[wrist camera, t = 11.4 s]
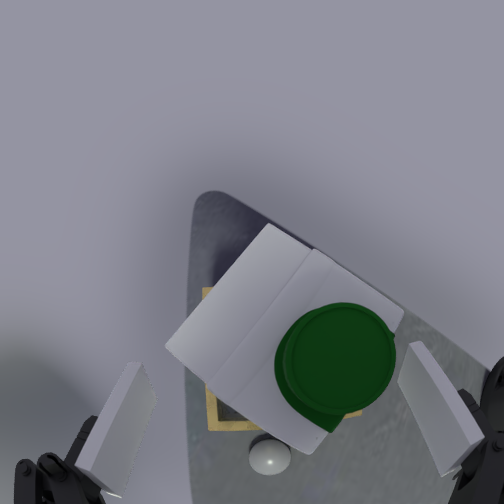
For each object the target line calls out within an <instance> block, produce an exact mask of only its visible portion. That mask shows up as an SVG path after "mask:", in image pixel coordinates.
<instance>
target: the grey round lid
mask: <svg viewBox="0 0 504 504" xmlns="http://www.w3.org/2000/svg"><path fill="white" fill-rule="evenodd" d="M290 460H291V455H290V451H289V449H288V447H287V446H286V445H285V444H284V443H283V442H281V441H279V440H275V439H266V440H262V441H260V442H258V443H256V444H255V445H254V446H253V447H252V449H251V451H250V454H249V462H250V465H251V466H252V468H253V469H254V470H255V471H257V472H259V473H261V474H264V475H274V474H278V473H280V472H282V471H284V470H285V469H286V468H287V467H288V465H289V463H290Z"/></svg>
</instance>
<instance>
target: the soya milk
mask: <svg viewBox="0 0 504 504" xmlns="http://www.w3.org/2000/svg"><path fill="white" fill-rule="evenodd" d="M403 315H404V310H402V309H401V308H400V307H398V306H397V305H396V304H394V303H393V302H391V301H390V300H389V299H387V298H386V297H384V296H383V295H381V294H380V293H379V292H377V291H376V290H374V289H373V288H371V287H370V286H369V285H367V284H366V283H364V282H363V281H361V280H360V279H358V278H357V277H356V276H354V275H353V274H351V273H350V272H348V271H347V270H345V269H344V268H342V267H341V266H339V265H338V264H336V263H335V262H334V261H333V260H332V259H331V258H329V257H328V256H326V255H325V254H323V253H321V252H320V251H318V250H316V249H313V250H311V249H310V248H308V247H306V246H305V245H303V244H302V243H300V242H299V241H297V240H295V239H294V238H292V237H291V236H289V235H288V234H286V233H284V232H283V231H281V230H280V229H278V228H276V227H275V226H273V225H271V224H270V223H268V224H267V225H266V226H265V227H264V228H263V229H262V231H261V232H260V233H259V234H258V235H257V236H256V238H255V239H254V240H253V241H252V242H251V243H250V245H249V246H248V247H247V248H246V249H245V251H244V252H243V253H242V254H241V255H240V256H239V258H238V259H237V260H236V261H235V262H234V264H233V265H232V266H231V267H230V268H229V269H228V271H227V272H226V273H225V274H224V275H223V276H222V278H221V279H220V280H219V281H218V282H217V284H216V285H215V286H214V287H213V288H212V290H211V291H210V292H209V293H208V294H207V295H206V297H205V298H204V299H203V300H202V301H201V303H200V304H199V305H198V306H197V307H196V309H195V310H194V311H193V312H192V313H191V314H190V316H189V317H188V318H187V319H186V320H185V322H184V323H183V324H182V325H181V327H180V328H179V329H178V330H177V331H176V332H175V334H174V335H173V336H172V337H171V338H170V340H169V341H168V342H167V343H166V344H165V347H166V348H167V349H168V350H169V351H170V352H171V353H172V354H173V355H174V356H175V357H176V358H177V359H178V360H179V361H181V362H182V363H183V364H184V365H185V366H186V367H187V368H188V369H190V370H191V371H192V372H193V373H194V374H195V375H197V376H198V377H199V378H200V379H201V380H202V381H204V382H205V383H206V384H207V389H208V390H209V391H210V392H211V393H212V394H214V395H215V396H216V397H217V398H219V399H220V400H221V401H223V402H224V403H225V404H227V405H229V406H230V407H232V408H233V409H234V410H236V411H237V412H239V413H240V414H241V415H243V416H244V417H246V418H247V419H248V420H250V421H251V422H253V423H254V424H256V425H257V426H259V427H260V428H262V429H263V430H265V431H266V432H268V433H269V434H271V435H272V436H274V437H276V438H278V439H279V440H281V441H283V442H285V443H286V444H288V445H290V446H292V447H294V448H295V449H297V450H299V451H301V452H303V453H305V454H312V453H313V451H314V450H315V449H316V448H317V447H318V446H319V444H320V443H321V442H322V440H323V439H324V438H325V437H326V435H327V434H328V433H332V432H333V431H334V430H335V428H336V427H337V426H338V424H339V423H340V422H341V420H342V419H343V418H344V416H345V415H346V414H349V413H353V412H356V411H359V410H362V409H363V408H365V407H367V406H368V405H370V404H371V403H373V402H374V401H375V400H376V399H377V398H378V397H379V396H380V395H381V394H382V393H383V392H384V390H385V389H386V387H387V386H388V384H389V382H390V380H391V378H392V375H393V372H394V368H395V362H396V349H395V343H394V340H393V339H394V337H395V334H394V332H395V330H396V329H397V327H398V325H399V323H400V321H401V319H402V317H403Z"/></svg>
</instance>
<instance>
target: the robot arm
mask: <svg viewBox="0 0 504 504" xmlns="http://www.w3.org/2000/svg"><path fill="white" fill-rule="evenodd" d="M397 383H398V385H399V387H400V389H401V391H402V393H403V395H404V397H405V399H406V401H407V403H408V405H409V407H410V409H411V411H412V413H413V415H414V417H415V419H416V421H417V424H418V426H419V428H420V430H421V432H422V434H423V437H424V439H425V441H426V443H427V446H428V448H429V450H430V453H431V455H432V457H433V460H434V462H435V464H436V467H437V469H438V472H439V474H440V477H442V476H444V475H446V474H448V473H450V472H452V471H454V470H455V469H456V468H457V467H458V466H459V465H460V464H461V466H462V469H461V470H460V471H459V472H458V473H457V474H456V475H455V476H454V477H453V479H452V480H455V479H456V478H457V477H458V479H457V482H456V485H455V487H454V490H453V493H452V495H451V498H450V500H449V503H448V504H504V357H502V358H501V359H500V360H499V361H498V362H497V363H496V365H495V366H494V368H493V369H492V371H491V373H490V375H489V377H488V379H487V382H486V384H485V387H484V391H483V395H482V400H481V407H479V406H478V404H476V401H475V400H474V398H473V397H472V395H471V394H470V393H468V392H467V391H466V390H464V389H461V390H459V391H456V389H455V388H454V386H453V385H452V383H451V382H450V380H449V379H448V378H447V376H446V375H445V373H444V372H443V370H442V369H441V367H440V366H439V365H438V363H437V362H436V360H435V359H434V358H433V356H432V355H431V353H430V352H429V351H428V349H427V348H426V347H425V345H424V344H423V343H422V341H417V342H413V343H409V344H408V348H407V351H406V355H405V358H404V362H403V365H402V368H401V371H400V374H399V377H398V380H397ZM157 399H158V398H157V396H156V394H155V392H154V390H153V388H152V385H151V383H150V381H149V378H148V376H147V374H146V371H145V369H144V366H143V364H142V363H138V362H129V363H128V365H127V366H126V368H125V370H124V372H123V373H122V375H121V377H120V378H119V380H118V382H117V384H116V386H115V387H114V389H113V391H112V393H111V395H110V397H109V398H108V400H107V402H106V404H105V406H104V408H103V409H102V411H101V413H100V415H99V417H97V416H91V417H90V418H88V419H87V420H86V421H85V422H84V424H83V426H82V428H81V430H80V432H79V433H78V435H77V438H76V439H75V441H74V443H73V444H72V446H71V448H70V450H69V452H68V454H67V456H66V458H65V460H64V461H62V460H61V459H60V458H59V457H58V456H57V455H56V454H53V453H45V454H43V455H41V457H40V458H39V459H38V461H37V465H35V464H34V463H33V462H32V461H31V460H29V459H22V460H20V461H19V462H18V463H17V465H16V469H15V483H14V504H106V503H105V501H104V499H103V497H102V495H101V494H100V491H101V489H103V490H104V491H105V492H106V493H108V494H111V495H113V496H117V497H120V498H123V495H124V492H125V489H126V486H127V483H128V480H129V477H130V474H131V471H132V468H133V465H134V462H135V460H136V457H137V454H138V451H139V448H140V445H141V443H142V440H143V437H144V434H145V431H146V429H147V426H148V423H149V420H150V418H151V415H152V413H153V410H154V407H155V405H156V402H157ZM42 496H43V499H42Z"/></svg>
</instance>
